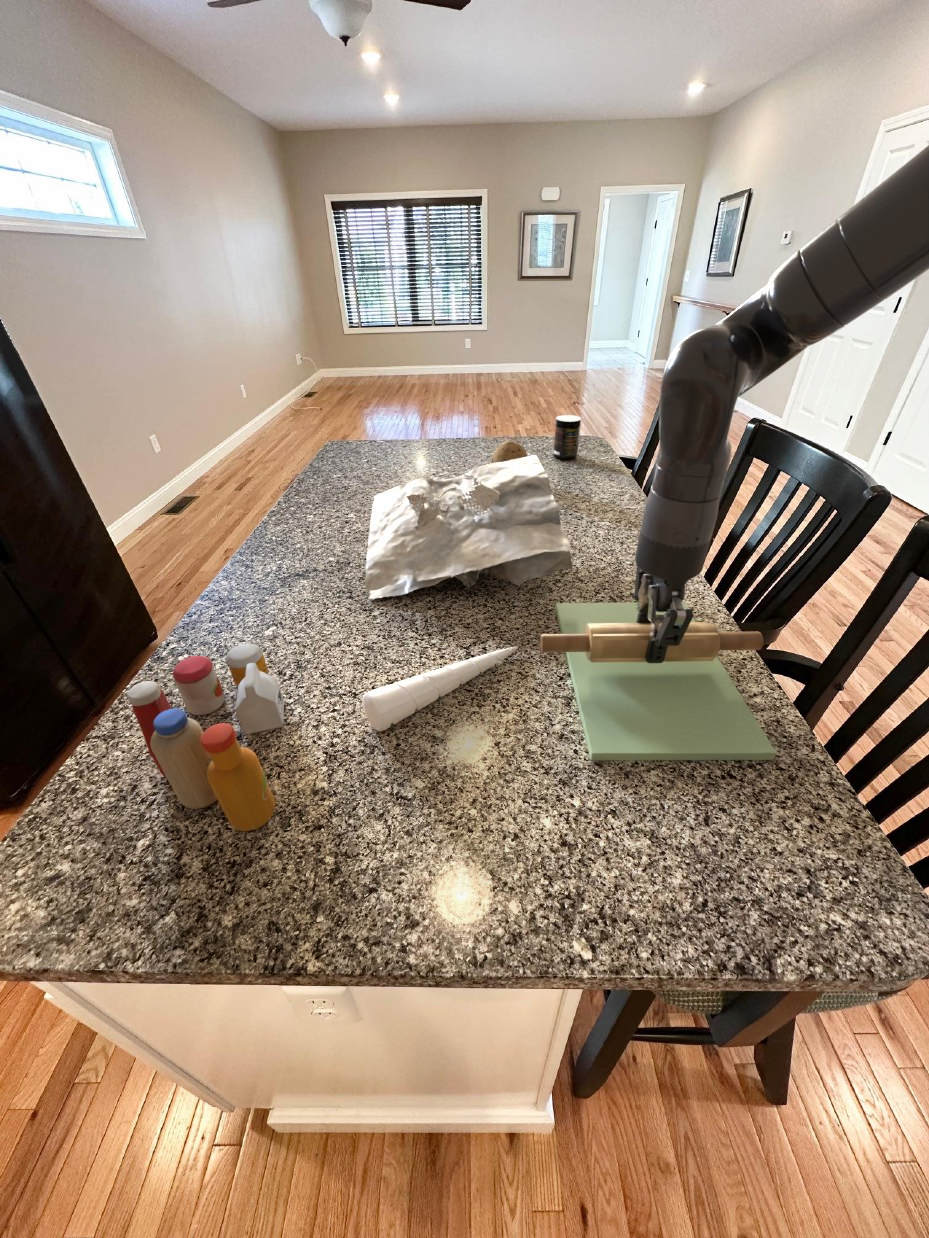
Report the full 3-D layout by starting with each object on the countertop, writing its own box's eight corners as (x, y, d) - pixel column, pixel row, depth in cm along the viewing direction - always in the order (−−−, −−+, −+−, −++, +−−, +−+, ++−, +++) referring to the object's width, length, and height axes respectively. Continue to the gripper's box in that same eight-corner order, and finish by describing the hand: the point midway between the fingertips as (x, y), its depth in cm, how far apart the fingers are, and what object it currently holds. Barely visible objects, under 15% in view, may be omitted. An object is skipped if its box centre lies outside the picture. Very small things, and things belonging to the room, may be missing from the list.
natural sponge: (483, 483, 127) (483, 443, 122) (501, 473, 133) (502, 433, 128) (515, 490, 123) (517, 448, 117) (532, 479, 129) (535, 438, 123)
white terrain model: (349, 566, 79) (364, 475, 103) (380, 639, 90) (387, 541, 113) (575, 519, 76) (537, 437, 100) (579, 600, 87) (544, 508, 111)
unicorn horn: (535, 663, 70) (537, 635, 68) (380, 741, 60) (375, 711, 57) (513, 646, 74) (515, 619, 71) (362, 717, 63) (357, 688, 60)
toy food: (280, 827, 51) (248, 745, 44) (140, 860, 48) (83, 779, 41) (285, 661, 72) (265, 588, 65) (188, 678, 70) (156, 604, 63)
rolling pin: (746, 648, 69) (753, 617, 67) (763, 665, 65) (772, 632, 63) (538, 650, 70) (539, 619, 68) (542, 667, 66) (544, 635, 64)
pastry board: (773, 760, 56) (776, 752, 56) (590, 760, 57) (591, 753, 56) (681, 608, 81) (683, 601, 80) (554, 609, 81) (555, 603, 81)
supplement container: (582, 457, 142) (586, 418, 136) (565, 462, 139) (569, 423, 133) (564, 452, 147) (567, 413, 141) (547, 457, 143) (550, 418, 137)
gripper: (737, 559, 51) (696, 685, 61) (687, 503, 63) (660, 617, 73) (661, 560, 52) (633, 686, 61) (626, 504, 63) (607, 617, 73)
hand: (647, 648), depth 67 cm, fingers closed on rolling pin, 4 cm apart
